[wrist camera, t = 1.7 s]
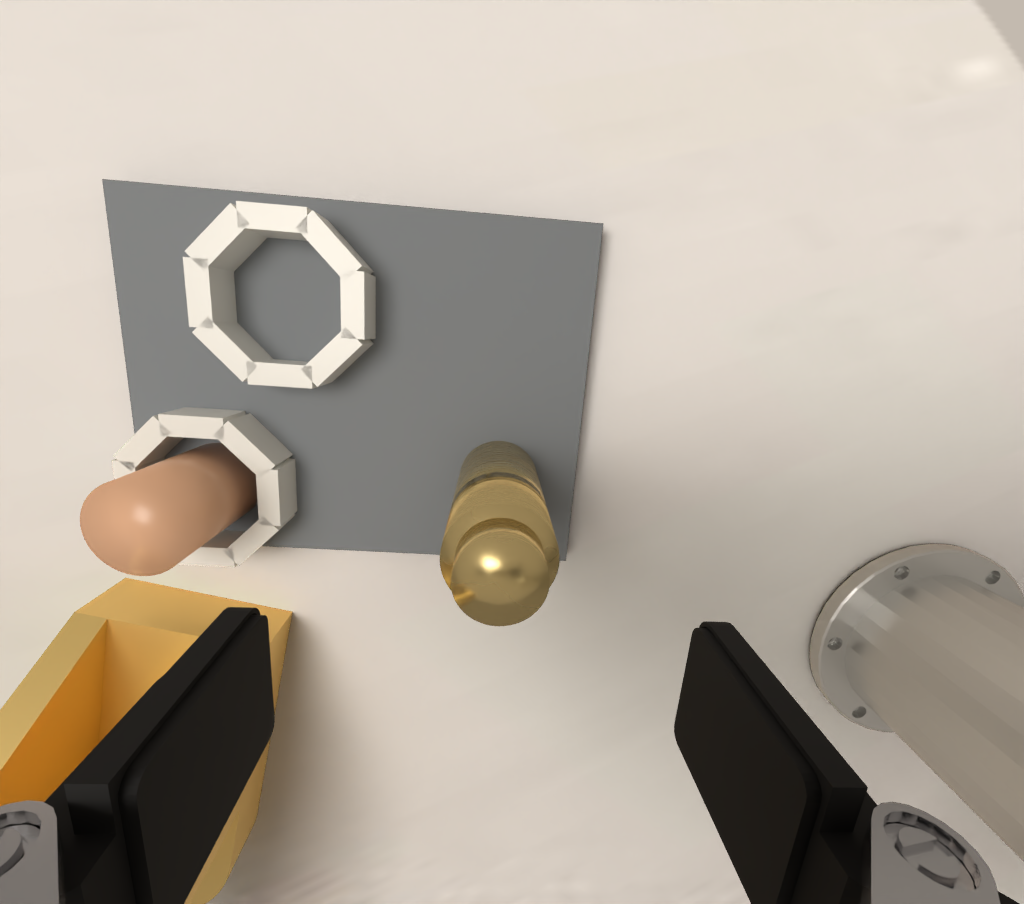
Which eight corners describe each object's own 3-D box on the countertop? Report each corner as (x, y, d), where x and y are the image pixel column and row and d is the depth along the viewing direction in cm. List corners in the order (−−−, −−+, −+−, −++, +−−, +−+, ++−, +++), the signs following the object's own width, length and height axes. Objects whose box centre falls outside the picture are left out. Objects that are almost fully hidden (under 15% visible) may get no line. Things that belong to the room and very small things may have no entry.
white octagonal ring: (375, 222, 21) (364, 212, 19) (375, 387, 23) (364, 392, 21) (206, 208, 21) (176, 195, 19) (219, 376, 23) (194, 380, 21)
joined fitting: (293, 413, 23) (226, 441, 17) (298, 551, 25) (240, 617, 19) (137, 403, 23) (16, 429, 17) (154, 544, 25) (50, 609, 19)
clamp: (248, 864, 32) (19, 1365, 17) (105, 843, 31) (-279, 1351, 16) (292, 611, 27) (31, 976, 12) (126, 577, 26) (-392, 925, 11)
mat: (597, 228, 23) (603, 223, 22) (562, 550, 27) (565, 560, 26) (123, 187, 22) (102, 179, 20) (163, 530, 26) (148, 540, 25)
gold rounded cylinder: (539, 443, 24) (572, 525, 14) (533, 516, 25) (559, 642, 15) (461, 438, 24) (436, 517, 14) (457, 512, 25) (432, 637, 15)
